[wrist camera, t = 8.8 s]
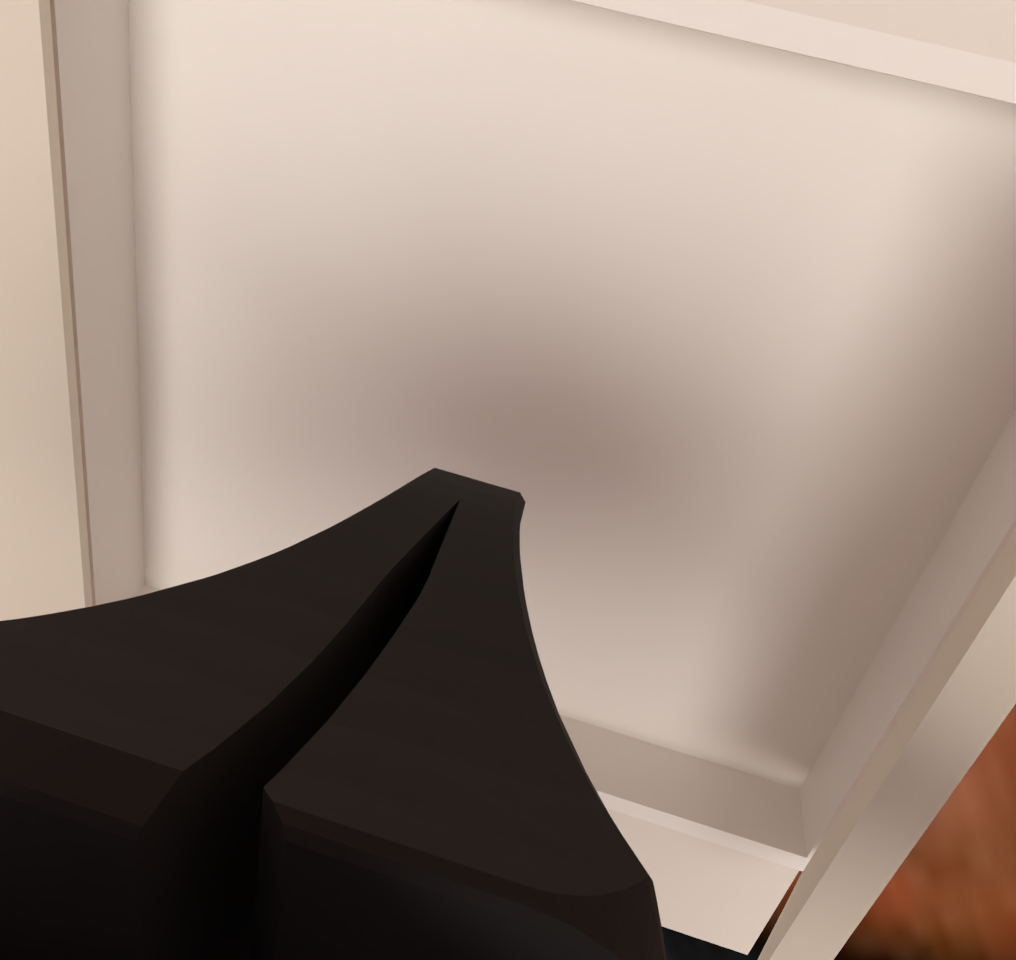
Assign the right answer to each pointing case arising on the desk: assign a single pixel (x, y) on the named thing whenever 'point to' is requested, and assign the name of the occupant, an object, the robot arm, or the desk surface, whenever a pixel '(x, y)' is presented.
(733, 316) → the carton
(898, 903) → the desk surface
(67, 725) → the robot arm
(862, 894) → the flap near
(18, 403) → the flap far
